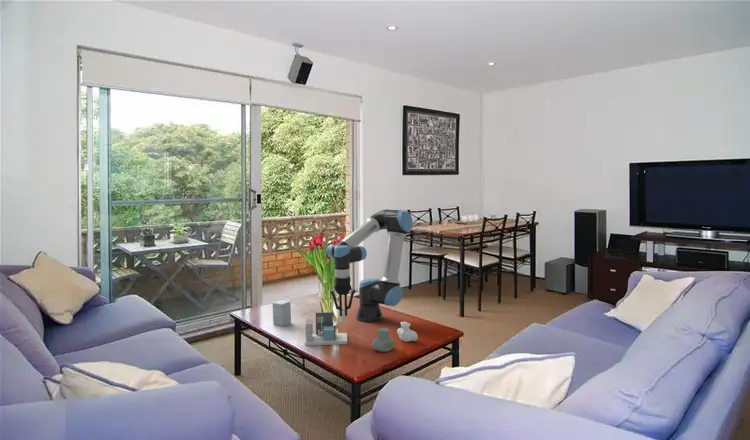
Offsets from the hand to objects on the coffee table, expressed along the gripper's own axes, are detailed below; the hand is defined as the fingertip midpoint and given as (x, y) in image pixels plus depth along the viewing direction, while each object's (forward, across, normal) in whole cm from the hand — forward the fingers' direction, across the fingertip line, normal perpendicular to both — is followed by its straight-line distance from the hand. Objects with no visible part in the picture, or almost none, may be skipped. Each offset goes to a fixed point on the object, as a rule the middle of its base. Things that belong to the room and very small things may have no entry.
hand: (343, 322), depth 232 cm
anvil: (+8, +17, 0) cm, 19 cm away
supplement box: (+10, +34, -30) cm, 46 cm away
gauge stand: (+9, +9, 0) cm, 13 cm away
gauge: (+8, +9, -1) cm, 12 cm away
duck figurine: (+10, -32, +4) cm, 33 cm away
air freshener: (+10, -18, +14) cm, 25 cm away
